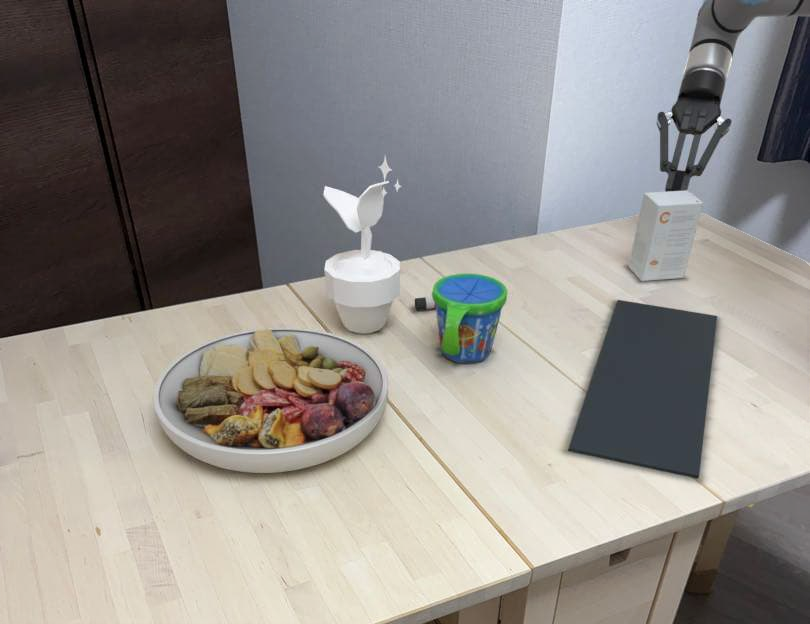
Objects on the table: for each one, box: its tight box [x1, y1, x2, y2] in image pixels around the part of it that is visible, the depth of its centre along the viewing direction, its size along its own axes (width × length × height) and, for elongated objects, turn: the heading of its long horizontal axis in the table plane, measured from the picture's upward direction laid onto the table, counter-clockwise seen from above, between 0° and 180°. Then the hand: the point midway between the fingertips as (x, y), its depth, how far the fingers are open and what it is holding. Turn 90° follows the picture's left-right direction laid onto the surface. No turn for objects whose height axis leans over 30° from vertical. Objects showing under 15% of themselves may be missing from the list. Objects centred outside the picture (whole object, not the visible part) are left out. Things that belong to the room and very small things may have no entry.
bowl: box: [152, 326, 389, 474], centre depth 97 cm, size 30×30×8 cm
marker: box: [414, 295, 436, 311], centre depth 122 cm, size 15×2×2 cm, turn 104°
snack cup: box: [431, 273, 509, 364], centre depth 109 cm, size 16×10×10 cm
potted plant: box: [323, 154, 403, 334], centre depth 109 cm, size 13×12×25 cm
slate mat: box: [567, 299, 718, 480], centre depth 107 cm, size 16×44×1 cm, turn 160°
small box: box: [628, 189, 705, 282], centre depth 129 cm, size 8×6×13 cm
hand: (670, 209), depth 133 cm, fingers closed
